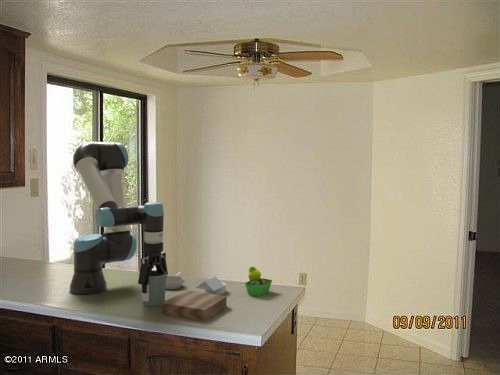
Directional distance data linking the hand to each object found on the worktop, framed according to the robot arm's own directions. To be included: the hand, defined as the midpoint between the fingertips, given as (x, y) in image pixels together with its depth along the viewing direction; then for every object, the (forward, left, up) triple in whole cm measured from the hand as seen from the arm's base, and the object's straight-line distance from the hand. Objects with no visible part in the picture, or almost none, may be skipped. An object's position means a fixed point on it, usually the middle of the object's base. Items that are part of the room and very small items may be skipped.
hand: (153, 297), depth 187 cm
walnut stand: (+19, 0, -2) cm, 19 cm away
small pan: (-7, +26, -3) cm, 27 cm away
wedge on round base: (+15, +22, -2) cm, 27 cm away
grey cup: (0, 0, -2) cm, 2 cm away
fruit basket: (+32, +31, -2) cm, 45 cm away
